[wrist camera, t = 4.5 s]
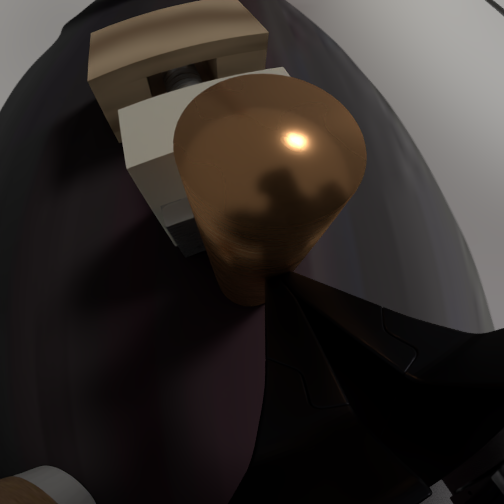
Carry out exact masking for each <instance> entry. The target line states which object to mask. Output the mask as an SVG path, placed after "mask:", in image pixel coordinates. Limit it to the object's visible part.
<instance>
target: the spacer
mask: <svg viewBox="0 0 504 504" xmlns="http://www.w3.org/2000/svg"><path fill="white" fill-rule="evenodd" d="M248 74H277V75H284V76H289V74H288V73H287V72H286V70H285V69H284V68H283V67H279V68H272V69H266V70H260V71H254V72H249V73H243V74H238V75H233V76H229V77H224V78H220V79H215V80H211V81H207V82H203V83H199V84H196V85H192V86H188V87H185V88H181V89H178V90H174V91H171V92H168V93H165V94H161V95H158V96H155V97H152V98H149V99H146V100H144V101H141V102H138V103H135V104H133V105H130V106H127V107H125V108H122V109H119V110H118V115H119V123H120V130H121V137H122V144H123V150H124V156H125V162H126V168H127V170H128V172H129V174H130V175H131V177H132V179H133V180H134V182H135V184H136V185H137V187H138V189H139V190H140V192H141V193H142V195H143V197H144V198H145V200H146V201H147V203H148V205H149V206H150V208H151V209H152V211H153V213H154V214H155V216H156V217H157V219H158V220H159V222H160V224H161V225H162V227H163V228H164V230H165V231H166V233H167V234H168V236H169V237H170V239H171V241H172V242H173V244H174V245H175V246H177V244H176V242H175V241H174V239H173V238H172V236H171V235H170V233H169V231H168V230H167V228H166V226H165V222H164V218H163V215H162V211H161V207H160V206H162V205H165V204H168V203H170V202H173V201H176V200H179V199H182V198H185V197H187V195H186V192H185V189H184V186H183V183H182V180H181V177H180V174H179V171H178V167H177V164H176V161H175V156H174V152H173V138H174V131H175V128H176V125H177V122H178V120H179V118H180V116H181V114H182V112H183V111H184V109H185V108H186V107H187V105H188V104H189V103H190V102H191V101H192V100H193V99H194V98H195V97H196V96H197V95H199V94H200V93H201V92H203V91H204V90H206V89H207V88H209V87H210V86H212V85H214V84H217V83H219V82H221V81H224V80H226V79H229V78H233V77H237V76H242V75H248ZM289 77H290V76H289Z"/></svg>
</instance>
